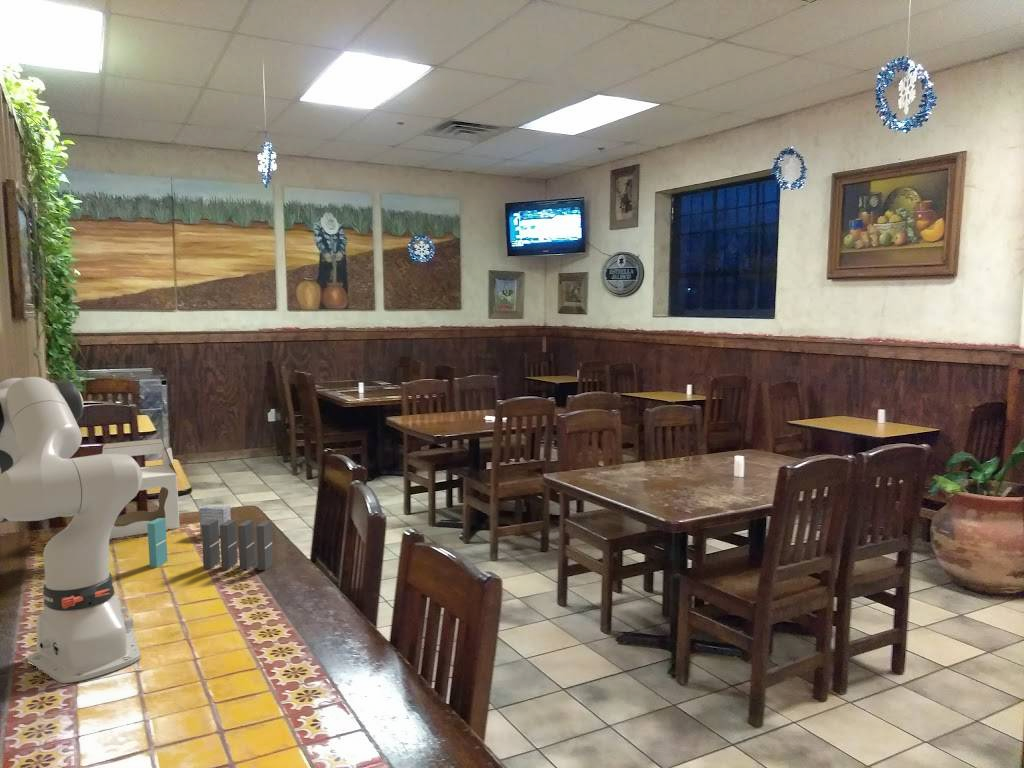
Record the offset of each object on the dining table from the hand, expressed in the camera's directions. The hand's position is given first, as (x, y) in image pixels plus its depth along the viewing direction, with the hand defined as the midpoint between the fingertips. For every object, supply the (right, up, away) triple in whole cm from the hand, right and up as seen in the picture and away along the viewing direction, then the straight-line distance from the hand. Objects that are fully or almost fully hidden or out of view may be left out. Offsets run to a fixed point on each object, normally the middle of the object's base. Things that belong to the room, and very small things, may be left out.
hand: (112, 500), depth 193 cm
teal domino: (+12, -17, +1) cm, 21 cm away
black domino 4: (+42, -17, -2) cm, 46 cm away
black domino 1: (+27, -17, -1) cm, 32 cm away
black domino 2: (+32, -17, -1) cm, 37 cm away
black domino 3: (+37, -17, -2) cm, 41 cm away
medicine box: (+17, -15, +26) cm, 35 cm away
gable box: (-10, -14, +32) cm, 36 cm away
